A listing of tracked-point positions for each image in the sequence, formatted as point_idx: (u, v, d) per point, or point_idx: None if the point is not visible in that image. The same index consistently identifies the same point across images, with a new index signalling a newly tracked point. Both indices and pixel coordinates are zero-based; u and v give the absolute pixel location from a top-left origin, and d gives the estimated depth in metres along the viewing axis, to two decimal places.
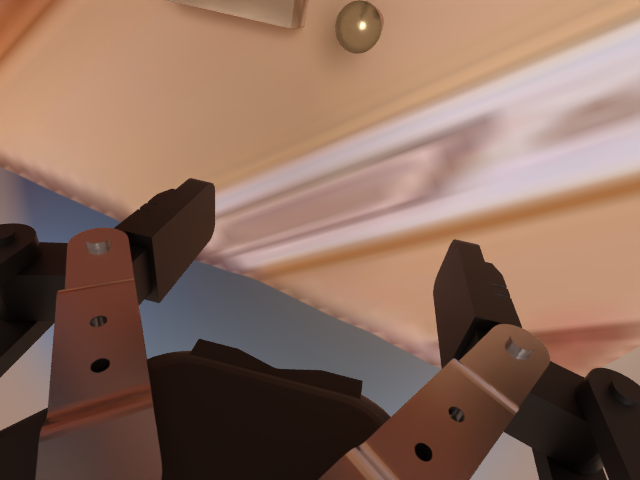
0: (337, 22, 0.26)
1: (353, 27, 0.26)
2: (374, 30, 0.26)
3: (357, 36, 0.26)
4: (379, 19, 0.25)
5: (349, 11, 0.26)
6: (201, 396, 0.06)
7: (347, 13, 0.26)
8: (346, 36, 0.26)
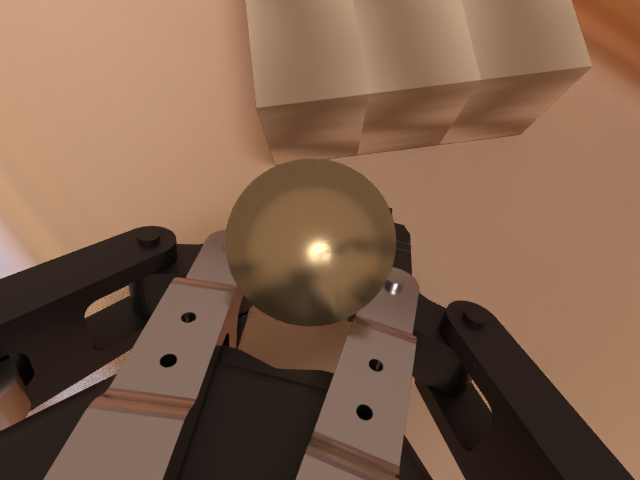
0: (302, 163, 0.07)
1: (305, 221, 0.07)
2: (321, 299, 0.07)
3: (282, 245, 0.07)
4: (361, 303, 0.07)
5: (348, 191, 0.07)
6: (201, 396, 0.06)
7: (340, 186, 0.07)
8: (270, 207, 0.07)
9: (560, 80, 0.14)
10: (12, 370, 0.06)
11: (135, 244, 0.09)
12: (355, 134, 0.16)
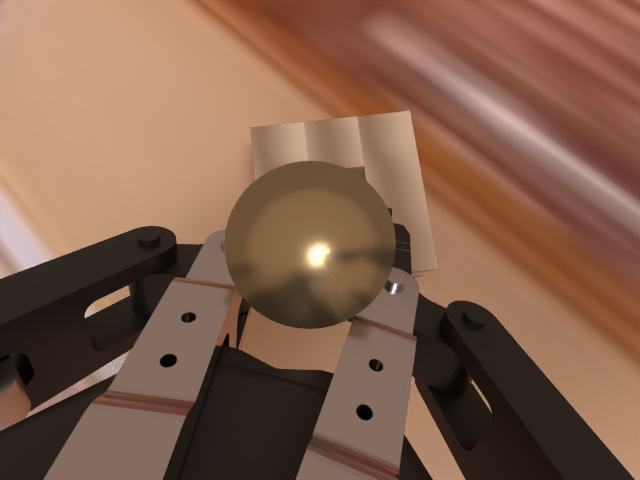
0: (302, 165, 0.07)
1: (305, 223, 0.07)
2: (320, 302, 0.07)
3: (282, 248, 0.07)
4: (360, 306, 0.07)
5: (347, 193, 0.07)
6: (201, 396, 0.06)
7: (339, 188, 0.07)
8: (269, 210, 0.07)
9: (425, 271, 0.26)
10: (12, 370, 0.06)
11: (135, 244, 0.09)
12: None
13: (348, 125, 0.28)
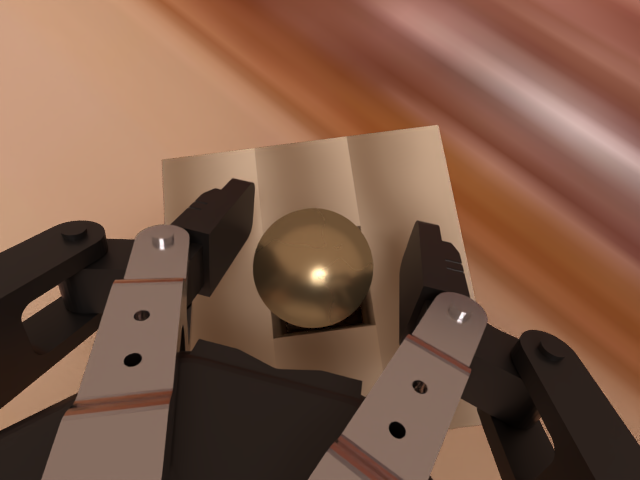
0: (307, 211, 0.10)
1: (309, 254, 0.10)
2: (320, 309, 0.10)
3: (293, 271, 0.10)
4: (348, 312, 0.10)
5: (339, 232, 0.10)
6: (201, 396, 0.06)
7: (334, 228, 0.10)
8: (284, 243, 0.10)
9: None
10: None
11: (61, 240, 0.08)
12: None
13: (331, 152, 0.16)
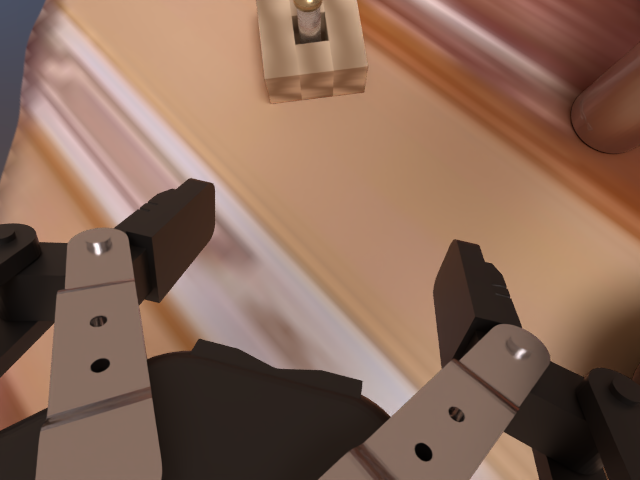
0: None
1: None
2: (309, 2, 0.39)
3: None
4: (316, 2, 0.39)
5: None
6: (201, 396, 0.06)
7: None
8: None
9: (361, 70, 0.43)
10: None
11: None
12: (298, 90, 0.45)
13: None
